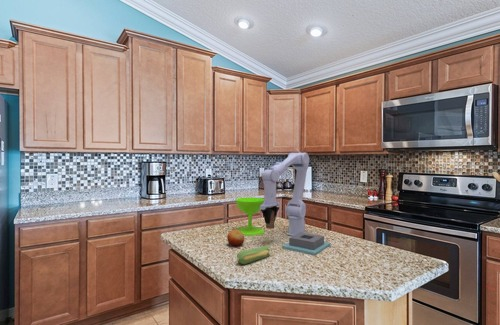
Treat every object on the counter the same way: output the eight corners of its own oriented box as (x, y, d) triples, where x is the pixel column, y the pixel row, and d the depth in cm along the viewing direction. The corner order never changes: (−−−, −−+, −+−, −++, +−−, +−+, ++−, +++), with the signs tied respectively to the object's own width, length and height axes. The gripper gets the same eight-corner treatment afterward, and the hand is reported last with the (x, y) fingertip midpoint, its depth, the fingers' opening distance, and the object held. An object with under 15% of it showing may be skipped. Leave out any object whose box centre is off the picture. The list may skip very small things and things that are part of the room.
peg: (268, 226, 142) (268, 210, 142) (275, 227, 140) (275, 210, 140) (264, 227, 139) (264, 211, 139) (271, 228, 136) (271, 212, 136)
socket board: (299, 239, 145) (299, 230, 145) (330, 244, 136) (330, 235, 136) (282, 248, 131) (282, 238, 131) (315, 255, 121) (315, 244, 121)
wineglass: (261, 227, 169) (261, 197, 169) (266, 235, 153) (267, 201, 153) (234, 228, 167) (234, 197, 167) (236, 236, 151) (237, 201, 151)
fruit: (233, 237, 142) (239, 225, 139) (243, 249, 138) (249, 236, 134) (220, 241, 137) (226, 228, 134) (230, 253, 132) (236, 240, 129)
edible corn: (232, 252, 112) (239, 252, 109) (268, 244, 126) (275, 243, 122) (234, 266, 111) (242, 266, 108) (270, 256, 124) (278, 255, 121)
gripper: (271, 192, 147) (271, 218, 147) (254, 195, 135) (254, 224, 136) (283, 193, 143) (283, 220, 143) (267, 196, 131) (267, 226, 132)
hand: (270, 222), depth 139 cm, fingers closed on peg, 4 cm apart
